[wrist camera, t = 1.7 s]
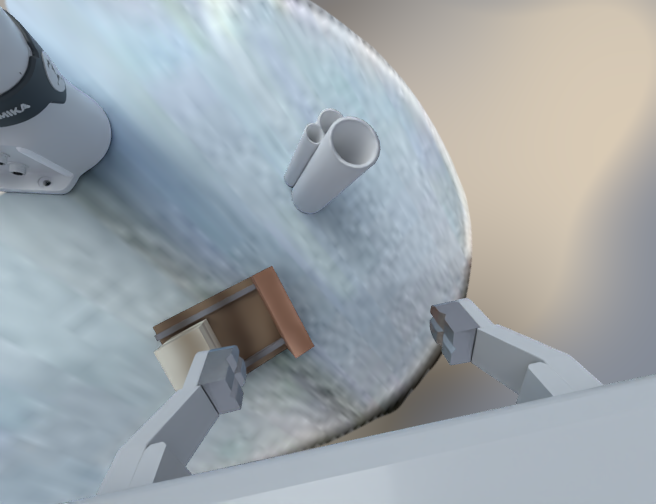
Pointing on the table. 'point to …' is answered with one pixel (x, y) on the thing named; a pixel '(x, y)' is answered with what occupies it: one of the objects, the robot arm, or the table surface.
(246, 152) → the table surface
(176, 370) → the cream rectangular block
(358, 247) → the table surface
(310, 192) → the vase
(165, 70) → the table surface
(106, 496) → the robot arm
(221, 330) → the track
